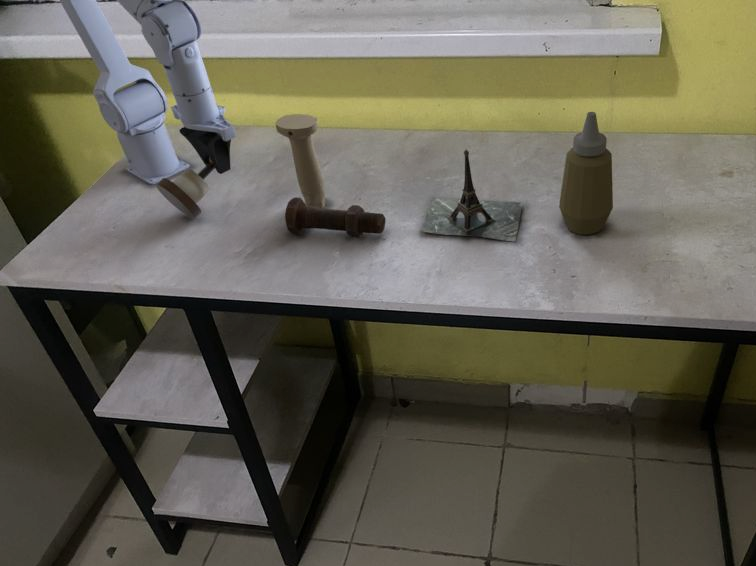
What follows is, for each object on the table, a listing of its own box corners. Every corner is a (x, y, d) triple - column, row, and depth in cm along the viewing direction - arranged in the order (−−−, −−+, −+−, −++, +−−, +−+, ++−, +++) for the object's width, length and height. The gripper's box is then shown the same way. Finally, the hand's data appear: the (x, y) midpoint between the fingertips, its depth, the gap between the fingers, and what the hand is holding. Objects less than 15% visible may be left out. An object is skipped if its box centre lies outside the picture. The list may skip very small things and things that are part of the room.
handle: (328, 216, 115) (308, 130, 105) (293, 212, 117) (270, 127, 107) (340, 200, 119) (322, 115, 108) (306, 197, 120) (284, 112, 110)
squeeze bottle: (615, 214, 110) (626, 103, 98) (605, 243, 105) (615, 130, 93) (565, 207, 113) (569, 98, 100) (552, 236, 107) (555, 124, 95)
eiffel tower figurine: (524, 205, 114) (523, 127, 105) (515, 241, 107) (513, 161, 98) (434, 200, 117) (425, 124, 108) (419, 235, 110) (409, 157, 100)
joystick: (223, 163, 122) (197, 130, 116) (249, 176, 118) (224, 143, 112) (177, 210, 119) (147, 179, 113) (202, 225, 116) (173, 193, 109)
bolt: (384, 246, 111) (294, 238, 113) (390, 217, 112) (301, 210, 115) (375, 230, 105) (281, 222, 108) (381, 200, 107) (288, 192, 109)
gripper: (241, 89, 107) (264, 170, 116) (187, 69, 114) (213, 146, 123) (201, 107, 103) (229, 189, 112) (149, 85, 110) (179, 163, 120)
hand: (218, 168), depth 118 cm, fingers closed on joystick, 3 cm apart
